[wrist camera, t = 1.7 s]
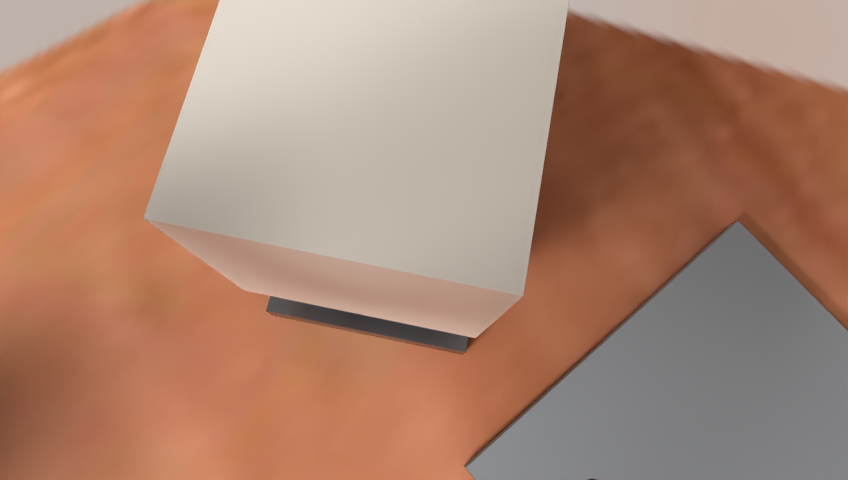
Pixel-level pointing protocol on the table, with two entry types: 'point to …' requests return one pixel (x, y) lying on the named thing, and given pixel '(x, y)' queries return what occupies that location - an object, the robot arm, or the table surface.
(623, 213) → the table surface
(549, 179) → the table surface
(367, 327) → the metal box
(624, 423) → the mat
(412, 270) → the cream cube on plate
